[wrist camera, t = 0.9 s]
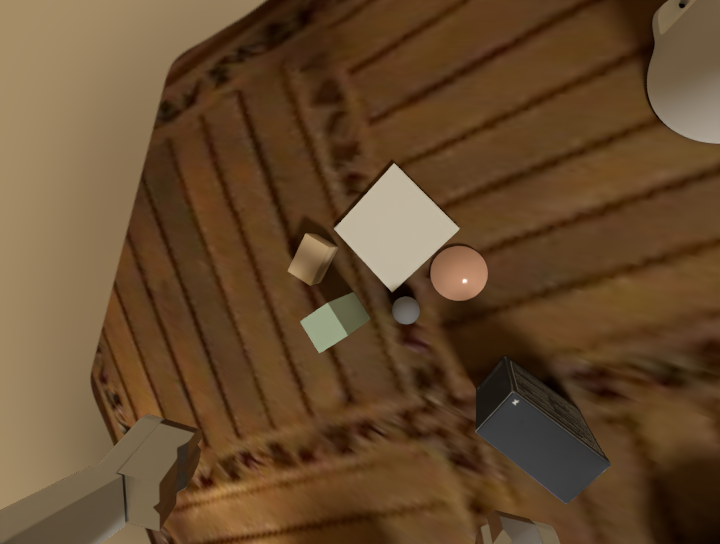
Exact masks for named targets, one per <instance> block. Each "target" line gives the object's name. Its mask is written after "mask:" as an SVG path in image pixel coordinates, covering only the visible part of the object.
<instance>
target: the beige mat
mask: <svg viewBox="0 0 720 544" xmlns="http://www.w3.org/2000/svg"><path fill="white" fill-rule="evenodd" d="M459 229H460V228H459V227H458V226H457V225H456V224H455V223H454V222H453V221H452V220H451V219H450V218H449V217H448V216H447V215H446V214H445V213H444V212H443V211H442V210H441V209H440V208H439V207H438V206H437V205H436V204H435V203H434V202H433V201H432V200H431V199H430V198H429V197H428V196H427V195H426V194H425V193H424V192H423V191H422V190H421V189H420V188H419V187H418V186H417V185H416V184H415V183H414V182H413V181H412V180H411V179H410V178H409V177H408V176H407V175H406V174H405V173H404V172H403V171H402V170H401V169H400V168H399V167H398V166H397V165H396V164H395V163H394V164H393V165H392V166H391V167H390V168H389V169H388V170H387V172H386V173H385V174H384V175H383V176H382V177H381V178H380V179H379V180H378V181H377V183H376V184H375V185H374V186H373V187H372V188H371V189H370V190H369V191H368V192H367V193H366V195H365V196H364V197H363V198H362V199H361V200H360V201H359V202H358V203H357V204H356V206H355V207H354V208H353V209H352V210H351V211H350V212H349V213H348V214H347V215H346V216H345V218H344V219H343V220H342V221H341V222H340V223H339V224H338V225H337V226H336V227H335V229H334V230H335V231H336V232H337V233H338V234H339V235H340V236H341V237H342V238H343V239H344V240H345V242H346V243H347V244H348V245H349V246H350V247H351V248H352V249H353V250H354V251H355V252H356V254H357V255H358V256H359V257H360V258H361V259H362V260H363V261H364V262H365V263H366V264H367V265H368V267H369V268H370V269H371V270H372V271H373V272H374V273H375V274H376V275H377V276H378V277H379V279H380V280H381V281H382V282H383V283H384V284H385V285H386V286H387V287H388V288H389V289H390V291H391V292H393V291H394V290H395V289H397V288H398V287H399V286H400V285H401V284H402V283H403V282H404V281H405V280H406V279H407V278H408V277H409V276H410V275H411V274H412V273H414V272H415V271H416V270H417V269H418V268H419V267H420V266H421V265H422V264H423V263H424V262H425V261H426V260H427V259H428V258H430V257H431V256H432V255H433V254H434V253H435V252H436V251H437V250H438V249H439V248H440V247H441V246H442V245H443V244H444V243H445V242H447V241H448V240H449V239H450V238H451V237H452V236H453V235H454V234H455V233H456V232H457V231H458V230H459Z"/></svg>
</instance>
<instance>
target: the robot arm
mask: <svg viewBox="0 0 720 544" xmlns="http://www.w3.org/2000/svg"><path fill="white" fill-rule="evenodd" d="M679 4H684V5H685V7H684V8H680V7H679ZM652 26H653V34H654V40H655V47H654V52H653V55H652V58H651V61H650V65H649V69H648V74H647V90H648V96H649V100H650V103H651V105H652V107H653V109H654V111H655V113H656V114H657V116H658V117H659V118H660V119H661V120H662V121H663V123H665V124H666V125H667V126H668V127H669V128H671V129H672V130H673V131H675V132H677V133H679V134H680V135H683V136H685V137H687V138H690V139H693V140H697V141H701V142H707V143H720V0H668V1H667V2H666V3H664V4H663V5H662V6H661V7H660V8H659V9H658V10H657V11H656V13H655V14H654V16H653V21H652ZM201 438H202V430H200V429H197V428H194V427H190V426H187V425H184V424H180V423H177V422H174V421H170V420H167V419H164V418H160V417H157V416H153V415H150V414H146V415H145V416H143V417H142V418H140V419H139V420H138V421H137V422H136V424H135V425H134V426H133V427H132V428H131V429H130V430H129V431H128V432H127V433H126V434H125V435H124V437H123V438H122V439H121V440H120V441H119V442H118V443H117V444H116V445H115V446H114V447H113V449H112V450H111V451H110V452H109V453H108V454H107V455H106V456H105V457H104V458H103V459H102V461H101V462H100V463H99V464H98V465H97V466H96V467H91V466H89V467H87V468H85V469H83V470H81V471H79V472H76V473H74V474H73V475H70V476H68V477H66V478H64V479H62V480H60V481H58V482H57V483H54V484H52V485H51V486H48V487H46V488H44V489H42V490H40V491H38V492H36V493H34V494H32V495H30V496H28V497H26V498H24V499H22V500H20V501H18V502H16V503H13V504H11V505H9V506H7V507H5V508H3V509H1V510H0V544H101V543H102V542H104V541H105V540H106V539H108V538H109V537H110V536H112V535H113V534H114V533H116V532H117V531H119V530H120V529H121V528H123V527H124V526H125V525H126V523H129V524H133V525H137V526H141V527H145V528H149V529H153V530H157V531H160V530H161V528H162V526H163V525H164V523H165V521H166V520H167V518H168V517H169V515H170V513H171V512H172V510H173V508H174V507H175V505H176V497H177V493H178V492H179V491H181V490H182V489H184V488H186V487H187V485H188V484H189V482H190V480H191V479H192V477H193V475H194V473H195V470H196V468H197V466H198V463H199V459H200V453H201V449H200V448H199V446H198V443H199V441H200V440H201ZM487 519H488V525H485V526H483V527H481V528H480V530H479V532H478V533H477V535H476V542H475V544H560V542H559V539H558V537H557V534H556V532H555V530H554V529H553V527H552V526H550V525H548V524H544V523H540V522H536V521H532V520H530V519H528V518H524V517H520V516H516V515H512V514H508V513H504V512H500V511H497V510H494V511H491V512H490V514H489V515H488V517H487Z"/></svg>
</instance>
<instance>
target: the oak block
mask: <svg viewBox="0 0 720 544" xmlns="http://www.w3.org/2000/svg"><path fill="white" fill-rule="evenodd" d="M337 249H338V246H336V245H334V244H333V243H331V242H329V241H328V240H326V239H324V238H323V237H321V236H319V235H318V234H310V233H306V234H305V236H304V238H303V240H302V242H301V244H300V246H299V248H298V250H297V253H296V255H295V257H294V259H293V261H292V263H291V265H290V267H289V269H288V272H290V273H292V274H293V275H295V276H296V277H298V278H299V279H301V280H302V281H304V282H306V283H307V284H309V285H310V286H311V285H315V284H318V283H321V281H322V279H323V277H324V275H325V273H326V271H327V269H328V267H329V265H330V263H331V261H332V259H333V257H334V255H335V253H336V251H337Z"/></svg>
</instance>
